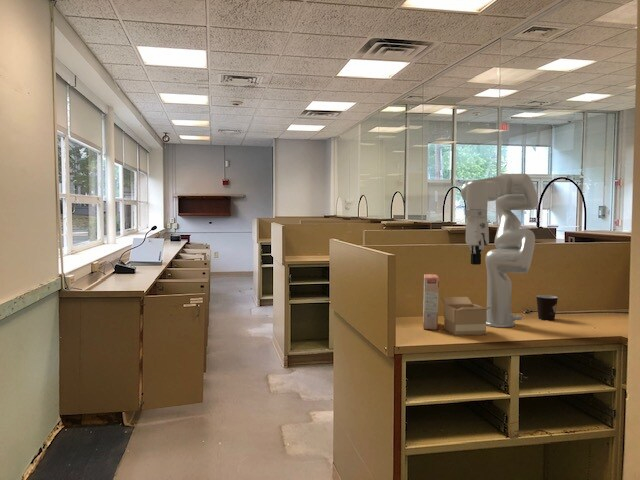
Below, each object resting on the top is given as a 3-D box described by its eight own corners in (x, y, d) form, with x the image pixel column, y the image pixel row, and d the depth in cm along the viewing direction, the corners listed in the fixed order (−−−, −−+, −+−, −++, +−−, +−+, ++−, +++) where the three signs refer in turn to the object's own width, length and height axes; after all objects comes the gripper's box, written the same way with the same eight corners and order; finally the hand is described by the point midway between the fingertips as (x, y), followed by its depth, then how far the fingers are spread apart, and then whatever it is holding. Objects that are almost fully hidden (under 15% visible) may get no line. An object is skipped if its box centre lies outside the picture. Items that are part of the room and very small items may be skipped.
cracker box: (438, 330, 194) (439, 277, 193) (423, 329, 195) (423, 277, 194) (437, 323, 207) (438, 273, 206) (422, 322, 209) (423, 273, 208)
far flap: (472, 303, 197) (471, 304, 197) (467, 296, 201) (467, 298, 202) (445, 304, 196) (445, 305, 196) (441, 297, 200) (441, 298, 200)
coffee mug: (544, 321, 211) (545, 298, 211) (531, 317, 219) (532, 295, 219) (567, 320, 214) (568, 297, 213) (553, 316, 222) (554, 294, 222)
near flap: (457, 309, 184) (457, 311, 184) (462, 307, 180) (462, 308, 179) (485, 308, 186) (485, 310, 185) (491, 306, 181) (491, 308, 181)
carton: (474, 328, 197) (474, 303, 197) (487, 335, 186) (487, 308, 186) (443, 329, 196) (443, 304, 195) (454, 335, 185) (454, 309, 184)
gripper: (496, 214, 173) (495, 266, 174) (476, 214, 188) (476, 262, 189) (476, 214, 172) (475, 266, 173) (458, 214, 187) (457, 262, 188)
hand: (475, 264), depth 181 cm, fingers closed
